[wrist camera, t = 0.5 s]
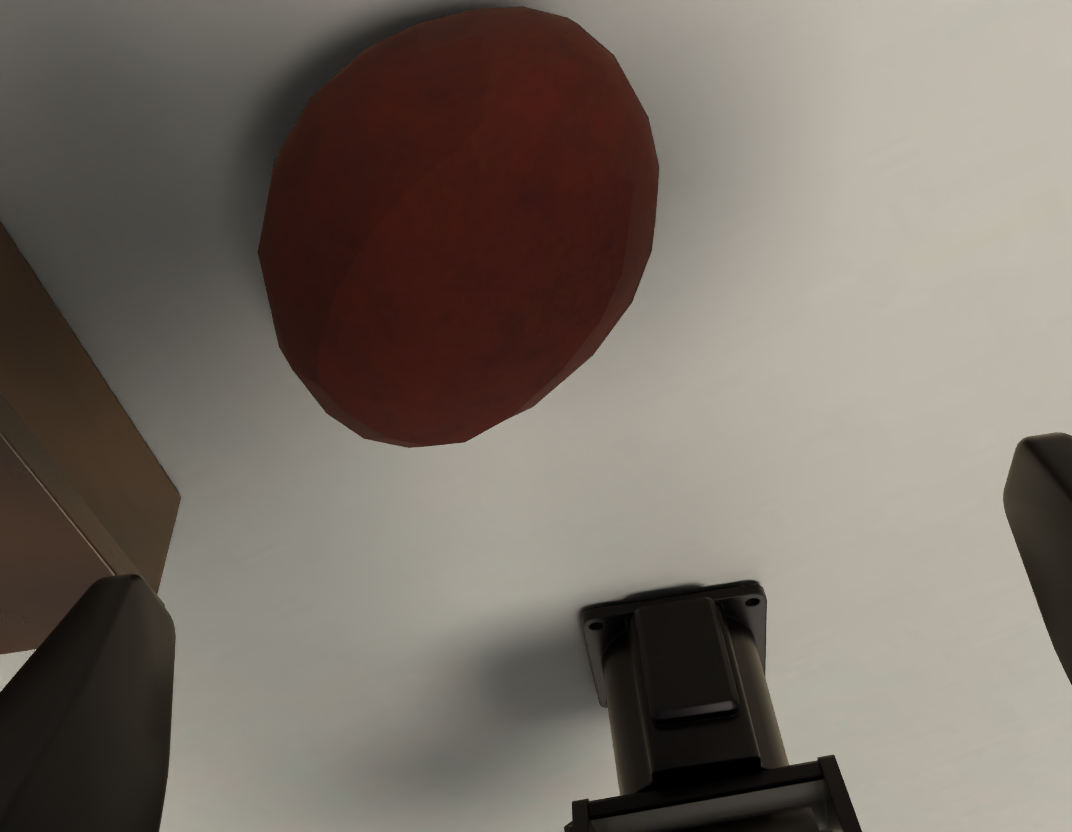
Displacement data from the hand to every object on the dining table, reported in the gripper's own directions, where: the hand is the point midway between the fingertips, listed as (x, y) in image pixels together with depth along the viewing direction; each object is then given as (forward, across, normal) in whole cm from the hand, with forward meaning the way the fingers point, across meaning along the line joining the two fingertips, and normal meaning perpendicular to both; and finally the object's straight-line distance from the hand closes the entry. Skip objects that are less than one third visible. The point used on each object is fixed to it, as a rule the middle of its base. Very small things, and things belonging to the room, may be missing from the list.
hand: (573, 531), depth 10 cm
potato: (+13, +2, +3) cm, 14 cm away
